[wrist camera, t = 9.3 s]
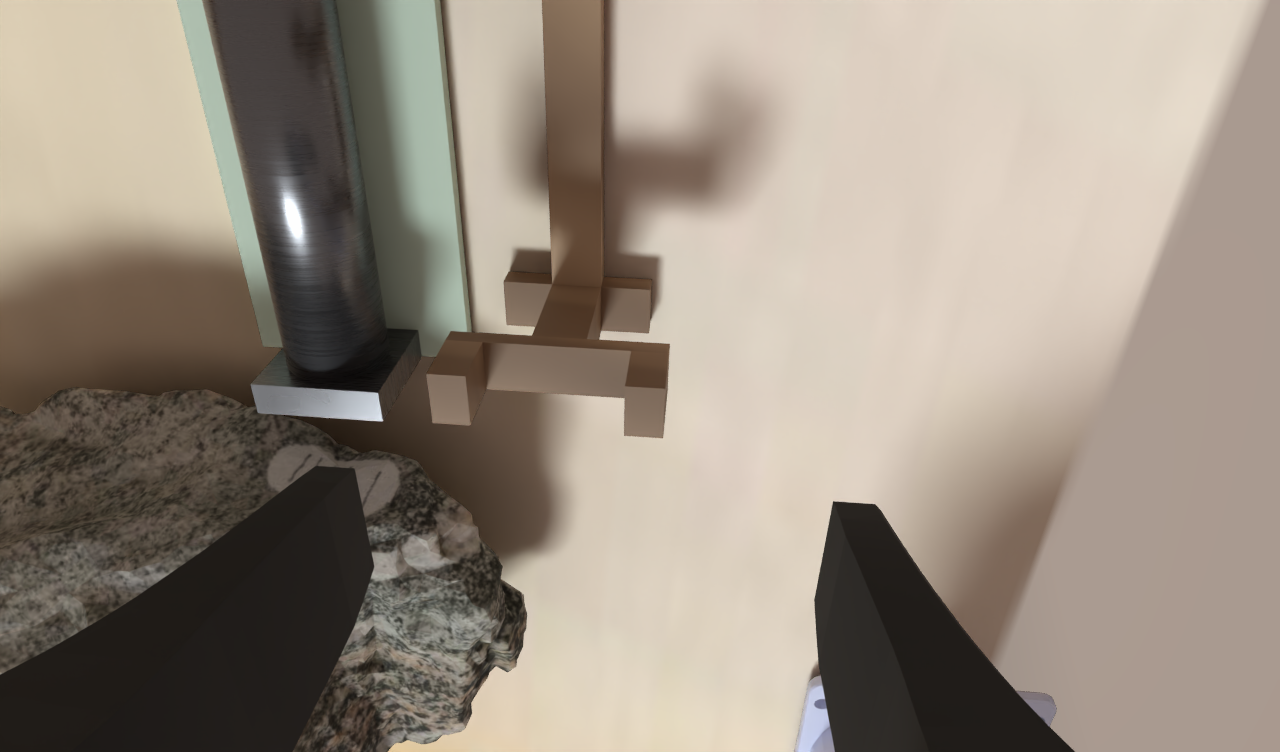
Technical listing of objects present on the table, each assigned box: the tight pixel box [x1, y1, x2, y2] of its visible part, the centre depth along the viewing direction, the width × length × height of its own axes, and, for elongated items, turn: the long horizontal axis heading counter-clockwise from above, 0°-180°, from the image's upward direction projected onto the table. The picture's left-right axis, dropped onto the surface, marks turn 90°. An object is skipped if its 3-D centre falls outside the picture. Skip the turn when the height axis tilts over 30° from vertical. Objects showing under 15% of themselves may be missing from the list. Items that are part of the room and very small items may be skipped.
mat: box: [177, 0, 472, 357], centre depth 19 cm, size 12×6×1 cm, turn 179°
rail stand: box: [426, 0, 670, 438], centre depth 17 cm, size 10×5×5 cm, turn 179°
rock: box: [0, 387, 527, 752], centre depth 24 cm, size 18×10×10 cm
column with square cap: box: [202, 0, 422, 422], centre depth 17 cm, size 12×3×3 cm, turn 179°
